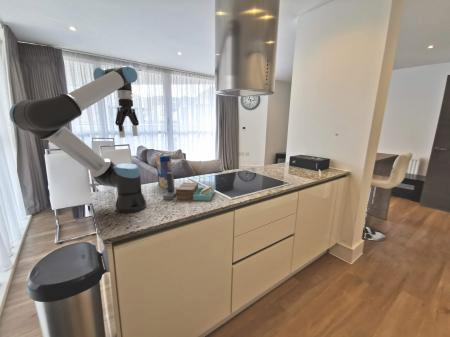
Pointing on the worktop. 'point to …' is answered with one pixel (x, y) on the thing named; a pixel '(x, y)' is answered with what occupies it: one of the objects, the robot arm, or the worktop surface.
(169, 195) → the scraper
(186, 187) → the brown wooden box
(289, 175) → the worktop surface
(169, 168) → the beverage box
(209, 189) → the tile
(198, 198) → the tray
